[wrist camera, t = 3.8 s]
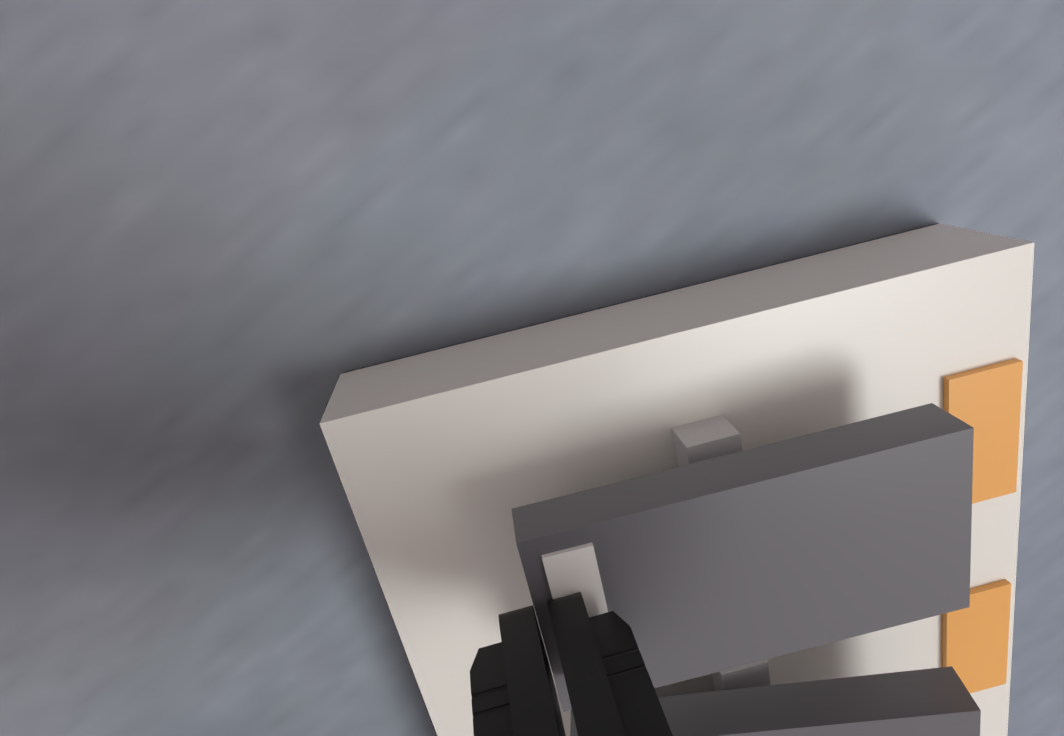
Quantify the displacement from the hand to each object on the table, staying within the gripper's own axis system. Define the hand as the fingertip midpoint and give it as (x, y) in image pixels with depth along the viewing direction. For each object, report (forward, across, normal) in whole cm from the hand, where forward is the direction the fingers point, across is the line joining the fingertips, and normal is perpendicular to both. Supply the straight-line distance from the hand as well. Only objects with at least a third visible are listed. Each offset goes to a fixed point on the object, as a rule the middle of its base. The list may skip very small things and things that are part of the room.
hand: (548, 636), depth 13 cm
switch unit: (+6, -4, +6) cm, 10 cm away
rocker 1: (+1, -4, 0) cm, 5 cm away
